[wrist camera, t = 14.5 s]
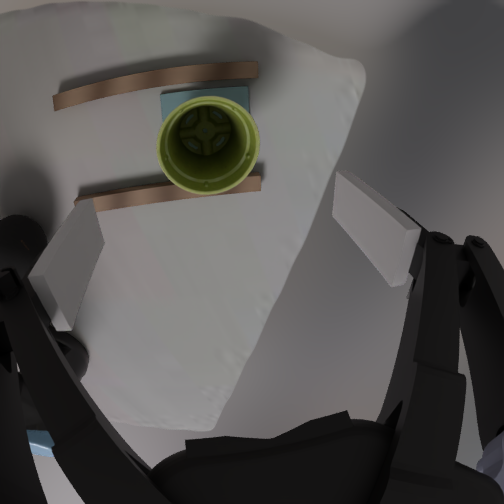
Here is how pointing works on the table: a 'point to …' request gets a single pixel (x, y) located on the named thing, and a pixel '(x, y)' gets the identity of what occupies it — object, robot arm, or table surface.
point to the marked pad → (177, 98)
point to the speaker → (20, 242)
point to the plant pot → (208, 145)
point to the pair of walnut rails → (151, 80)
